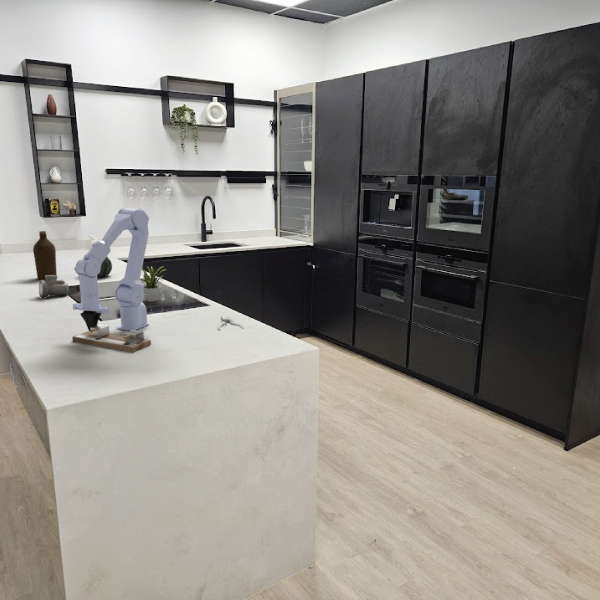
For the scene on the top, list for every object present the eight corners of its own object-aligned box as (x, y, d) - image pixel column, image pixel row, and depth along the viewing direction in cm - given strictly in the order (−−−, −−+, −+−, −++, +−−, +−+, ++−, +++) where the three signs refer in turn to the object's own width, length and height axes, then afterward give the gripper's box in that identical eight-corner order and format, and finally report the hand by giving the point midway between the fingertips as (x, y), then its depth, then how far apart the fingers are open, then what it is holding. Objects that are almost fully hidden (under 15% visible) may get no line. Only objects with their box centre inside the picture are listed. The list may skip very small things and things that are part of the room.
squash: (88, 263, 294) (82, 246, 282) (115, 264, 296) (111, 247, 283) (83, 283, 286) (77, 267, 274) (111, 284, 288) (106, 268, 275)
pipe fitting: (41, 299, 234) (41, 276, 233) (37, 296, 240) (38, 274, 239) (69, 298, 241) (70, 276, 240) (65, 296, 247) (66, 275, 246)
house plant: (175, 297, 243) (173, 262, 240) (165, 304, 230) (163, 267, 226) (145, 295, 245) (143, 261, 241) (133, 303, 231) (131, 266, 228)
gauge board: (92, 333, 188) (91, 321, 187) (150, 344, 178) (150, 331, 177) (72, 341, 180) (71, 328, 179) (132, 352, 170) (132, 339, 169)
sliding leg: (100, 332, 185) (100, 324, 184) (109, 333, 183) (109, 325, 182) (85, 337, 178) (85, 329, 178) (94, 339, 177) (94, 331, 176)
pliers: (218, 327, 194) (212, 316, 208) (218, 331, 195) (212, 320, 209) (244, 325, 197) (237, 314, 211) (244, 329, 198) (237, 318, 212)
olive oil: (60, 278, 279) (55, 231, 273) (38, 280, 272) (33, 232, 266) (55, 275, 287) (51, 229, 281) (34, 277, 281) (29, 230, 275)
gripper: (64, 293, 179) (68, 331, 182) (97, 298, 173) (100, 337, 176) (80, 289, 185) (83, 326, 188) (112, 294, 179) (115, 331, 183)
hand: (92, 331), depth 183 cm, fingers closed
